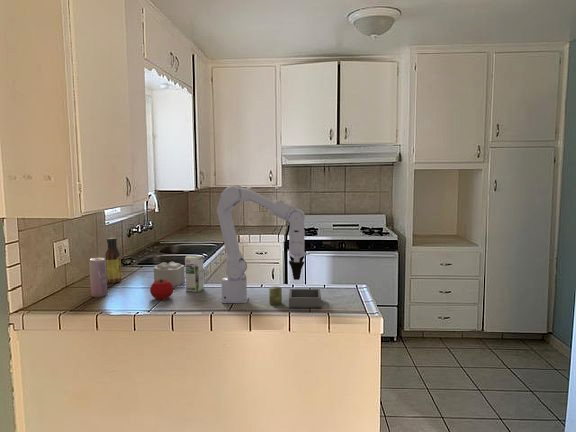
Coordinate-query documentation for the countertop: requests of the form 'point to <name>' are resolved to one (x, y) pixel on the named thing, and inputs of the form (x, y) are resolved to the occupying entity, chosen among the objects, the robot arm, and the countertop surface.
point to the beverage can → (98, 277)
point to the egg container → (170, 273)
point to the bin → (304, 299)
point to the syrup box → (194, 273)
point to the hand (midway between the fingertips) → (296, 276)
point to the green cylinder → (275, 296)
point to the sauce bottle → (113, 261)
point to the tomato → (161, 289)
